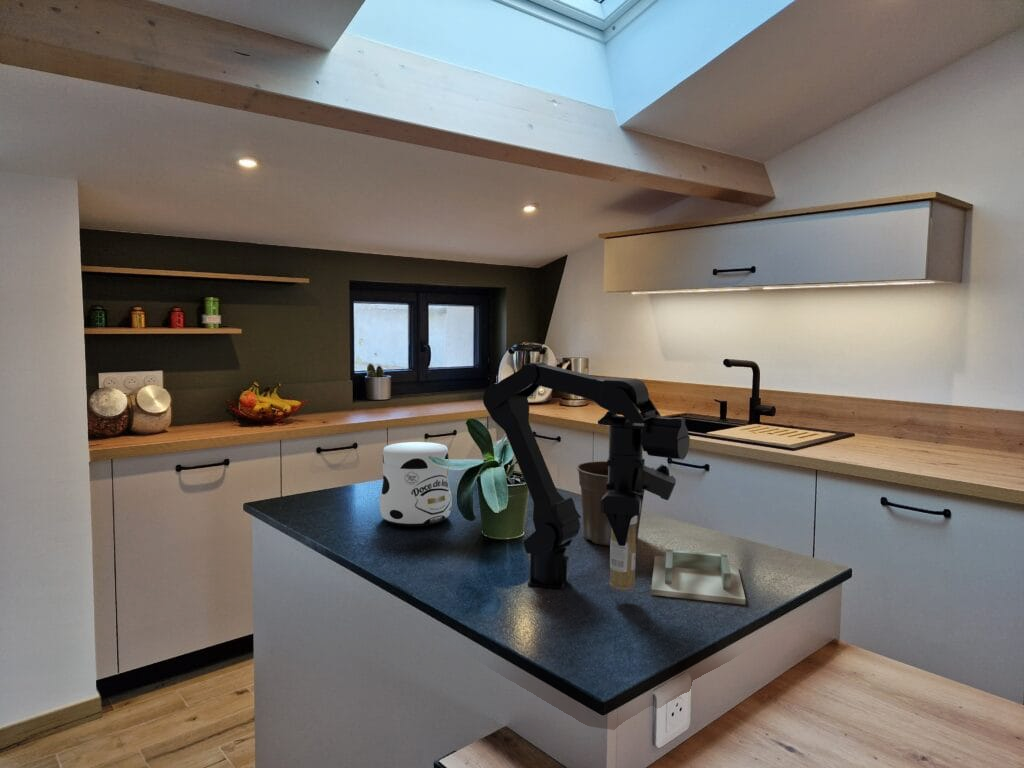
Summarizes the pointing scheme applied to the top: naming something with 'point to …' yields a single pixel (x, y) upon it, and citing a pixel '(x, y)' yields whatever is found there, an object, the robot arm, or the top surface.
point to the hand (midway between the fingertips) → (623, 541)
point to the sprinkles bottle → (623, 560)
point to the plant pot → (596, 502)
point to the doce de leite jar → (414, 485)
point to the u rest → (697, 577)
